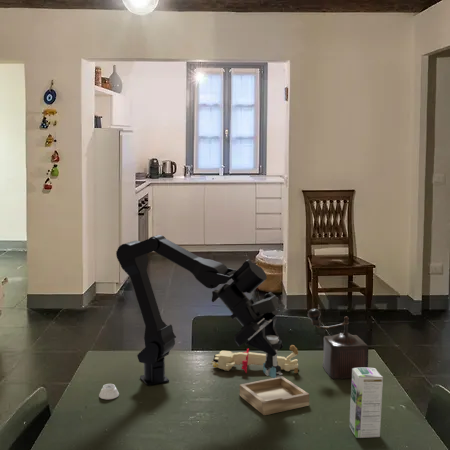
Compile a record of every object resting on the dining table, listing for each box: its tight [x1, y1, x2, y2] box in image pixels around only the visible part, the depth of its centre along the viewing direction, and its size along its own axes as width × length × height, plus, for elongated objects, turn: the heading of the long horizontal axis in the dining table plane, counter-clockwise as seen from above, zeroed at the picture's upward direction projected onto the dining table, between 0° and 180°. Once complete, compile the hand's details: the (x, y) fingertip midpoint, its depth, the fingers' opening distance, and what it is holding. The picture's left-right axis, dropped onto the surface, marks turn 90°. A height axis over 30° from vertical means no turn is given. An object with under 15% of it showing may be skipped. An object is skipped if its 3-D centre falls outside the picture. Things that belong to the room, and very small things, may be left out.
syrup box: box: [349, 366, 384, 439], centre depth 141 cm, size 6×6×14 cm
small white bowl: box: [98, 383, 120, 400], centre depth 161 cm, size 5×3×5 cm
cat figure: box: [210, 344, 299, 374], centre depth 180 cm, size 10×9×25 cm
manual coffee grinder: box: [307, 308, 369, 380], centre depth 177 cm, size 16×11×18 cm
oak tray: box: [239, 375, 310, 416], centre depth 158 cm, size 13×13×3 cm
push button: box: [262, 335, 284, 378], centre depth 157 cm, size 7×5×10 cm
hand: (278, 351), depth 156 cm, fingers closed on push button, 5 cm apart
